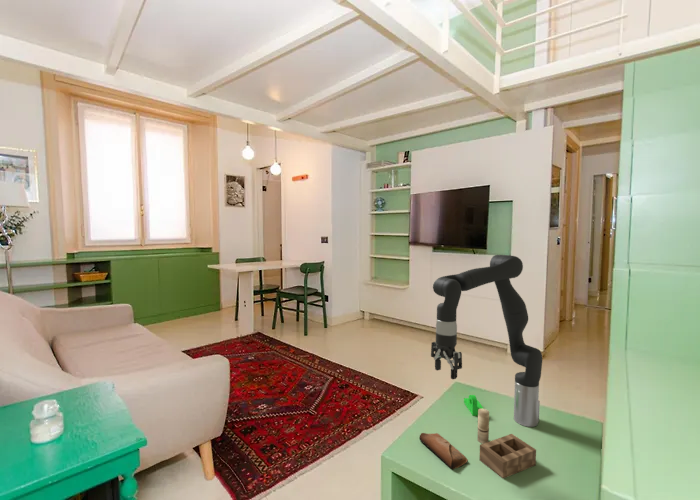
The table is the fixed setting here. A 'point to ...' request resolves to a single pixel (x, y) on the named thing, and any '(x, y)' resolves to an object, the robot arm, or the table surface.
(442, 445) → the sunglasses case
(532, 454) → the brown wooden box
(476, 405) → the mechanical part
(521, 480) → the table surface
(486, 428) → the peg
